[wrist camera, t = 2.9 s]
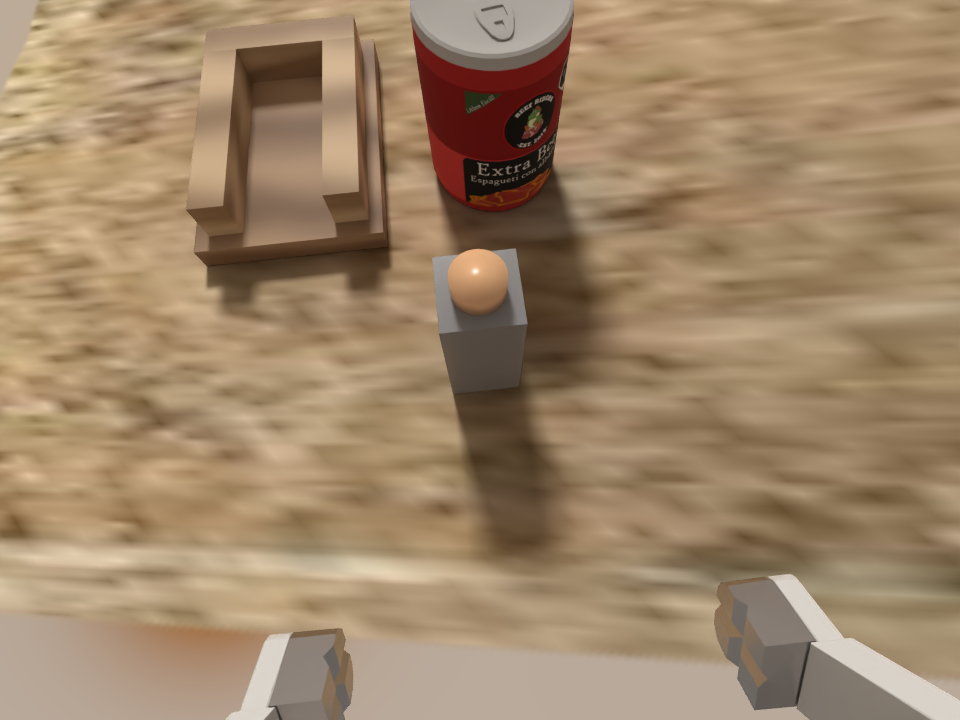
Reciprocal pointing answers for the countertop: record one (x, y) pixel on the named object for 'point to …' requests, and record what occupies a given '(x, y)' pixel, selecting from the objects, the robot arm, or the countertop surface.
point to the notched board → (287, 143)
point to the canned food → (492, 93)
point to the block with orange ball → (481, 318)
